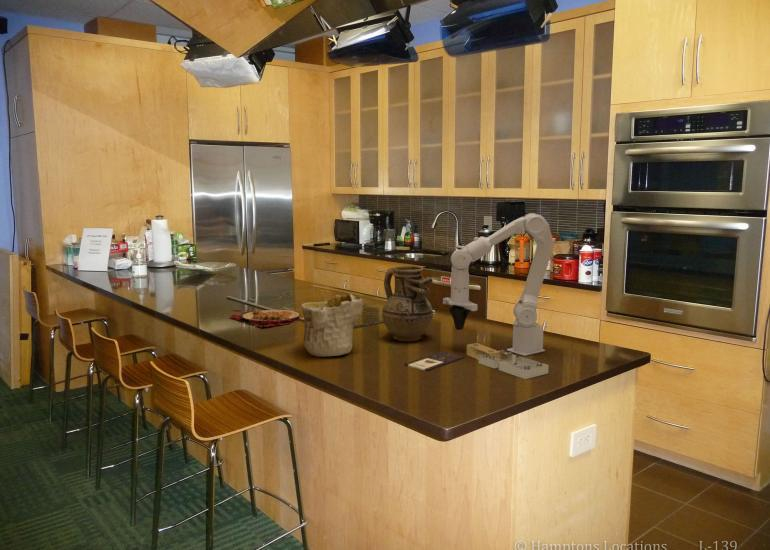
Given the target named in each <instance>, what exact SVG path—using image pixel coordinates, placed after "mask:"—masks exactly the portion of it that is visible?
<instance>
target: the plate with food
mask: <svg viewBox="0 0 770 550" xmlns="http://www.w3.org/2000/svg"><path fill="white" fill-rule="evenodd" d="M231 311H233V312H238V313H239V312H240V313H241V311H242V310H241V309H231ZM300 315H301V313H300V312H297V311H296V310H288V309H265V310H263V309H262V310H259V309H257V310H253V311H252V310H251V311H249V310H247V311H245V312H244V311H243V312H242V314H241V315H237V314H232V315H229V317H230V318H231V319H235V321H241V322H243V323H245V320H248V322H249V323H247V324H249V325H252V326H253V327H258V326H259V328H270V327H278V326H282V325H283V326H284V325H288V324H289V325H292V324H296V323H297V322H298V321H299V320H300V317H299V316H300ZM298 317H299V318H298ZM243 319H245V320H243ZM302 322H303V323H304V320H303V321H302Z"/></svg>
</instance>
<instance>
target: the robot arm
mask: <svg viewBox="0 0 770 550" xmlns="http://www.w3.org/2000/svg"><path fill="white" fill-rule="evenodd" d="M526 233H527V234H528V235H529V236H530V237H531V238H532V240H533V241H534V243H535V244H536V248H535V251H534V254H533V258H532V261H531V264H530V267H529V269H528V270H529V272H528V275H527V278H526V281H525V285H524V287H523V292H522V294H521V295H520V296H519V300H518V301H517V302H516V304H515V305H514V307H513V314H514V317H515V320H514V321H513V322H512V326H513V327H512V347H510V348H507V349H506V352H512V354H513V353H514V354H517V355H521V356H522V357H525V356H526V357H527V356H530V355H534V354H538V353H543V352H545V351H546V350H545V349H544V329H543V327H542V325H540V323H538V322H537V319H538V312H537V309H538V303H539V301H538V300H539V295H540V293H541V289H542V286H543V282H544V279H545V275H546V273H547V269H548V265H549V263H550V259H551V255H552V252H553V248H554V245H555V243H554V242H555V241H554V238H553V235H552V231H551V229H550V223H548V221H547V220H546V219H545V217H544V216H543V215H540V214H537V213H534V212H531V213H530V212H529V213H527V214H525V215H524V216H520V217H518V218H516V219H515V220H512V221H511V222H510V223H508V224H506V225H505V226H503V227H502V228H500V229H498V230H497V231H495V232H494V233H493V234H491V235H489V236H487V237H486V236H480V237H478V236H476V237H474V238H473V241H471V242H470V243H468V244H466V245H461V246H460V248H461V249H457V250H455V251H453V253H452V254H451V256H450V262H451V273H450V297H442V304H443V305H449V306H451V307H449V308H448V311H449V313H450V314H451V317H452V320H453V323H454V328H455V330H457V331H462V330H464V326H465V324H466V320H467V317H468V316H469V313H470V312H476V311H478V304H477V303H474V302H472V301H470V273H469V266H470V265H471V263H474V262H476V261H478V260H479V259H481V258H483V257H484V256H486V255H488V254H490V253H491V251H492V248H493V247H494V246H495V245H497V244H500V243H501V242H503V241H505V240H506V239H509V237H511V236H514V235H525V234H526Z"/></svg>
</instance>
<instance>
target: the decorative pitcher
mask: <svg viewBox="0 0 770 550" xmlns="http://www.w3.org/2000/svg"><path fill="white" fill-rule="evenodd" d="M423 271H424V268H423V267H422V266H418V265H417V266H416V265H415V266H414V265H402V266H393V267H390V268H388V269H387V270H386V272H385V274H384V278H383V288H384V292H385V295H386V300H387V301H385V303H384V305H383V308H382V312H381V317H382V321H383V324H384V325H385V327H386V329H387V330H388V332H389V333H390V334H392V338H393V339H394V340H396V341H401V342H415V341H419V340H420V339H422V336H423V334H425V333H426V332H427V331H428V329H429V328H430V326H431V325H432V322H433V317H434V310H433V307H432V304H431V302H430V301H429V300H428V299H427V297H426V296H427V295H429V294H430V289H429V288H428V287H427V286H428V285H431V284H432V283H433V278H431V277H427V278H425V277H424V276H423ZM392 277H394V291H393V290H392V286H391V281H392Z"/></svg>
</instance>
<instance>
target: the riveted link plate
mask: <svg viewBox="0 0 770 550" xmlns="http://www.w3.org/2000/svg"><path fill="white" fill-rule="evenodd" d="M499 351H500V350H496V349H494V348H491V347H489V346H486V345H483V344H481V343H478V342H475V343H468V344H466V356H468V357H471V358H474V359H476V360H478V361H479V355H482V354H487V356H494V358H496V359H498V364H499V362H500V352H499Z"/></svg>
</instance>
